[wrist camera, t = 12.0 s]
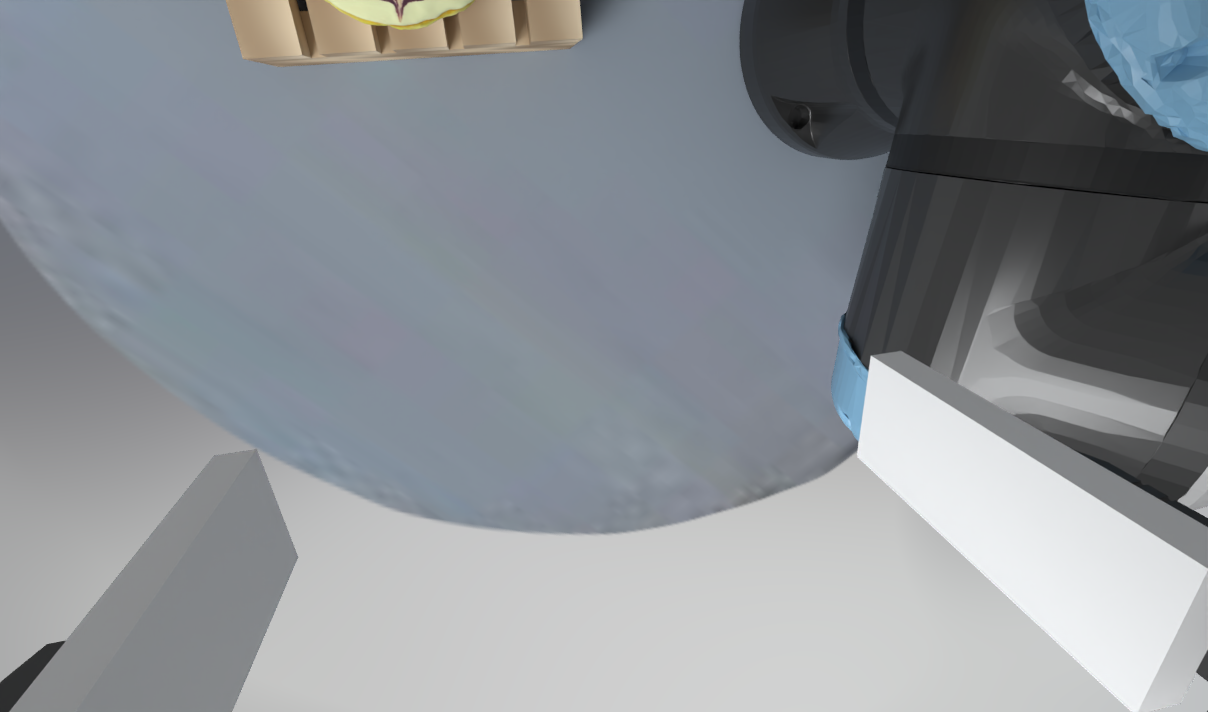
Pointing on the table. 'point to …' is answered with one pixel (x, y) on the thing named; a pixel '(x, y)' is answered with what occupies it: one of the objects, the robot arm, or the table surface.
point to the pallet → (399, 32)
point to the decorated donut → (400, 11)
